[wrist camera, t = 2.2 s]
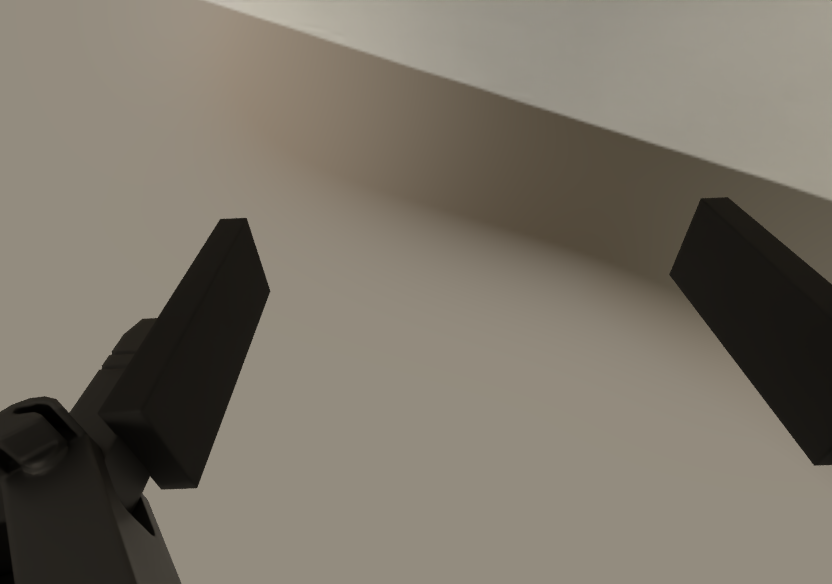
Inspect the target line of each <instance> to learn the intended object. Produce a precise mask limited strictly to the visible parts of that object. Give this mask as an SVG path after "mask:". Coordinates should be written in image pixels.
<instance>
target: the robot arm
mask: <svg viewBox="0 0 832 584" xmlns="http://www.w3.org/2000/svg"><path fill="white" fill-rule="evenodd" d="M670 276H671V277H672V279H673V280H674V281H675V283H676V284H677V285H678V287H679V288H680V289H681V291H682V292H683V293H684V295H685V296H686V297H687V298H688V300H689V301H690V302H691V304H692V305H693V306H694V308H695V309H696V310H697V312H698V313H699V314H700V316H701V317H702V318H703V320H704V321H705V322H706V324H707V325H708V326H709V327H710V329H711V330H712V331H713V333H714V334H715V335H716V336H717V338H718V339H719V340H720V342H721V343H722V344H723V346H724V347H725V349H726V350H727V351H728V353H729V354H730V355H731V356H732V358H733V359H734V360H735V362H736V363H737V364H738V366H739V367H740V368H741V369H742V371H743V372H744V374H745V375H746V376H747V378H748V379H749V380H750V381H751V383H752V384H753V385H754V387H755V388H756V389H757V391H758V392H759V393H760V395H761V396H762V397H763V399H764V400H765V401H766V402H767V404H768V405H769V407H770V408H771V409H772V410H773V412H774V413H775V414H776V416H777V417H778V418H779V420H780V421H781V422H782V424H783V425H784V426H785V428H786V429H787V430H788V431H789V433H790V434H791V435H792V437H793V438H794V439H795V441H796V442H797V443H798V445H799V446H800V447H801V449H802V450H803V451H804V452H805V454H806V455H807V457H808V458H809V459H810V460H811V462H812V463H813V464H814V465H832V284H831V283H829V282H828V281H827V280H826V279H825V278H823V277H822V276H821V275H820V274H819V273H817V272H816V271H815V270H814V269H813V268H811V267H810V266H809V265H808V264H807V263H805V262H804V261H803V260H802V259H801V258H799V257H798V256H797V255H796V254H795V253H794V252H792V251H791V250H790V249H789V248H788V247H786V246H785V245H784V244H783V243H782V242H780V241H779V240H778V239H777V238H776V237H774V236H773V235H772V234H771V233H770V232H768V231H767V230H766V229H765V228H764V227H763V226H761V225H760V224H759V223H758V222H757V221H755V220H754V219H753V218H752V217H751V216H749V215H748V214H747V213H746V212H744V211H743V210H742V209H741V208H740V207H739V206H737V205H736V204H735V203H734V202H733V201H731V200H730V199H729V198H728V197H725V198H702V199H701V200H700V202H699V205H698V207H697V210H696V212H695V214H694V217H693V219H692V221H691V224H690V226H689V229H688V231H687V233H686V236H685V238H684V241H683V243H682V246H681V249H680V250H679V253H678V255H677V258H676V260H675V263H674V265H673V267H672V270H671V272H670ZM269 293H270V289H269V286H268V283H267V280H266V277H265V273H264V270H263V267H262V264H261V261H260V258H259V255H258V252H257V249H256V246H255V243H254V240H253V236H252V233H251V230H250V227H249V224H248V221H247V218H236V219H220V221H219V222H218V224H217V225H216V227H215V229H214V230H213V232H212V233H211V235H210V236H209V238H208V239H207V241H206V243H205V244H204V246H203V247H202V249H201V250H200V252H199V254H198V255H197V257H196V258H195V260H194V261H193V263H192V265H191V266H190V268H189V269H188V271H187V273H186V274H185V276H184V277H183V279H182V280H181V282H180V284H179V285H178V287H177V288H176V290H175V292H174V293H173V295H172V296H171V298H170V299H169V301H168V302H167V304H166V306H165V307H164V309H163V310H162V312H161V314H160V315H159V317H158V318H154V319H152V318H151V319H142V320H141V321H139V322H138V323H137V324H136V325H135V326H133V327H132V328H131V329H130V330H129V331H127V332H126V333H125V334H124V335H123V336H122V338H121V339H120V341H119V342H118V344H117V345H116V346H115V348H114V349H113V351H112V355H109V356H108V358H107V360H106V361H105V362H104V364H103V365H102V370H99V371H98V372H97V374H96V375H95V377H94V378H93V380H92V381H91V382H90V384H89V385H88V387H87V388H86V390H85V391H84V393H83V394H82V395H81V397H80V398H79V400H78V401H77V403H76V404H75V406H74V407H73V408H72V410H71V411H70V413H68V412H67V410H66V409H65V408H64V407H63V406H62V405H61V404H60V403H59V402H58V400H57V399H53V398H49V397H37V398H30V399H27V400H24V401H21V402H18V403H16V404H13V405H11V406H9V407H8V408H6V409H4V410H2V411H1V412H0V584H181V582H180V579H179V577H178V574H177V572H176V569H175V567H174V564H173V562H172V559H171V557H170V554H169V552H168V549H167V547H166V544H165V542H164V539H163V537H162V534H161V532H160V529H159V527H158V524H157V522H156V519H155V517H154V514H153V512H152V509H151V507H150V505H149V502H148V500H147V499H146V497H145V496H144V495H143V494H142V492H143V490H144V488H145V486H146V483H147V481H148V479H149V477H150V476H151V478H152V479H153V480H154V481H155V482H156V484H157V485H158V486H159V487H160V488H161V489H186V488H197V487H198V484H199V481H200V479H201V476H202V473H203V471H204V468H205V465H206V462H207V460H208V457H209V454H210V452H211V449H212V446H213V443H214V441H215V438H216V436H217V433H218V430H219V428H220V425H221V422H222V419H223V417H224V414H225V411H226V409H227V406H228V403H229V401H230V398H231V395H232V393H233V390H234V387H235V384H236V382H237V379H238V376H239V374H240V371H241V368H242V365H243V363H244V360H245V357H246V355H247V352H248V349H249V347H250V344H251V341H252V339H253V336H254V333H255V330H256V328H257V325H258V323H259V320H260V317H261V315H262V312H263V309H264V306H265V304H266V301H267V298H268V296H269Z"/></svg>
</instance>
